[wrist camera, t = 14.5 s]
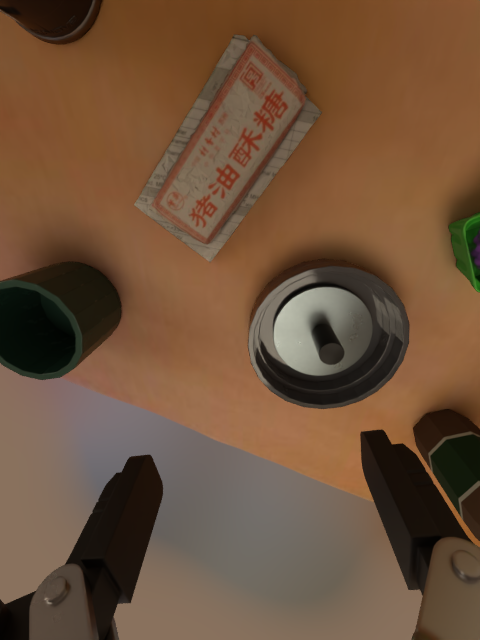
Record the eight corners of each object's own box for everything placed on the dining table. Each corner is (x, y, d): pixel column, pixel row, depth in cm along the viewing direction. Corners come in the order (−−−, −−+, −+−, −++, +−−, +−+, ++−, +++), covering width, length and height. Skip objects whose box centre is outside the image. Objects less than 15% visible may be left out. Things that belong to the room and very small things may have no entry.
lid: (266, 292, 35) (267, 310, 29) (368, 276, 34) (390, 291, 28) (279, 376, 39) (282, 406, 33) (370, 365, 38) (390, 394, 32)
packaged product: (234, 2, 22) (332, 98, 24) (238, 35, 27) (320, 114, 29) (119, 206, 28) (204, 271, 30) (138, 205, 33) (211, 261, 34)
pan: (238, 272, 35) (235, 281, 31) (391, 245, 33) (411, 252, 28) (261, 393, 41) (261, 415, 37) (391, 378, 39) (407, 400, 35)
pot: (23, 269, 36) (-47, 290, 28) (104, 254, 35) (55, 271, 27) (58, 346, 40) (5, 385, 32) (132, 335, 39) (97, 372, 30)
